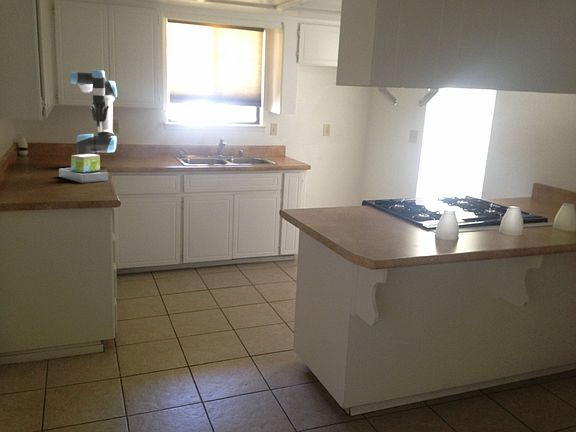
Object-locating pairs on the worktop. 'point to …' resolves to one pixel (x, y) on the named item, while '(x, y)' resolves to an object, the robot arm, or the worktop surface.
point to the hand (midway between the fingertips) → (100, 131)
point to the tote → (82, 176)
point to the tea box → (85, 163)
